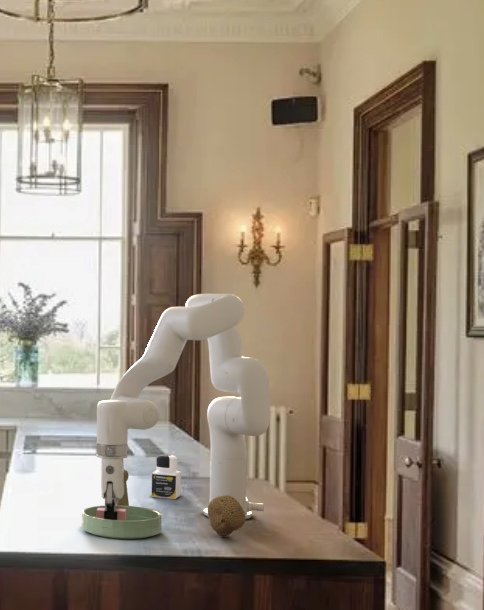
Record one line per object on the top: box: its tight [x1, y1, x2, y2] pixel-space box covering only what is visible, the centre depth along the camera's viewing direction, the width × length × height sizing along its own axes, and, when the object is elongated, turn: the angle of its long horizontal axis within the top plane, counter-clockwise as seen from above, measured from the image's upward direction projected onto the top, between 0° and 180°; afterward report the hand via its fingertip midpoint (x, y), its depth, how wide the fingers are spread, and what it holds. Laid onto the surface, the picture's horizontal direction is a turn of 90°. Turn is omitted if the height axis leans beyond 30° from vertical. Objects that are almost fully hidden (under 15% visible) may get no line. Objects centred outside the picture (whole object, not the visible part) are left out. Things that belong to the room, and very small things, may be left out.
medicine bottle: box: [151, 454, 182, 500], centre depth 295 cm, size 7×7×12 cm
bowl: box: [81, 505, 163, 540], centre depth 246 cm, size 19×19×4 cm
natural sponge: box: [206, 495, 246, 538], centre depth 243 cm, size 9×9×10 cm
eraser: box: [96, 508, 126, 521], centre depth 247 cm, size 7×3×4 cm, turn 79°
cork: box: [118, 468, 130, 506], centre depth 274 cm, size 6×6×11 cm
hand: (111, 525), depth 247 cm, fingers closed on eraser, 3 cm apart
